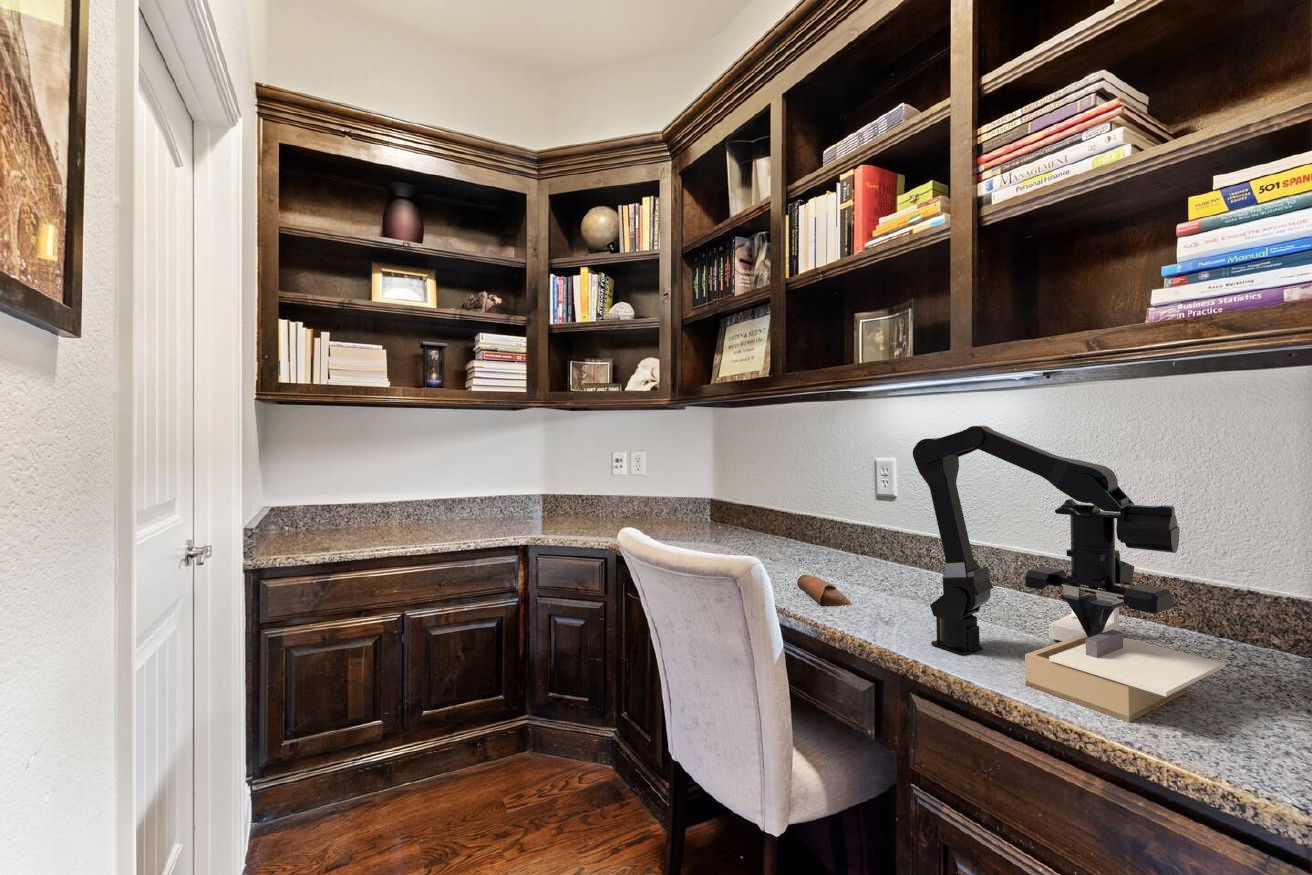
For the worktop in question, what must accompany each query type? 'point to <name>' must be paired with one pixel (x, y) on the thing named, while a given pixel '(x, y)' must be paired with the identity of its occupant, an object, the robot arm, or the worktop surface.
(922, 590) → the worktop surface
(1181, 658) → the lid
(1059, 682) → the box
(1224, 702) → the worktop surface
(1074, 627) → the bracket
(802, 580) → the sunglasses case
